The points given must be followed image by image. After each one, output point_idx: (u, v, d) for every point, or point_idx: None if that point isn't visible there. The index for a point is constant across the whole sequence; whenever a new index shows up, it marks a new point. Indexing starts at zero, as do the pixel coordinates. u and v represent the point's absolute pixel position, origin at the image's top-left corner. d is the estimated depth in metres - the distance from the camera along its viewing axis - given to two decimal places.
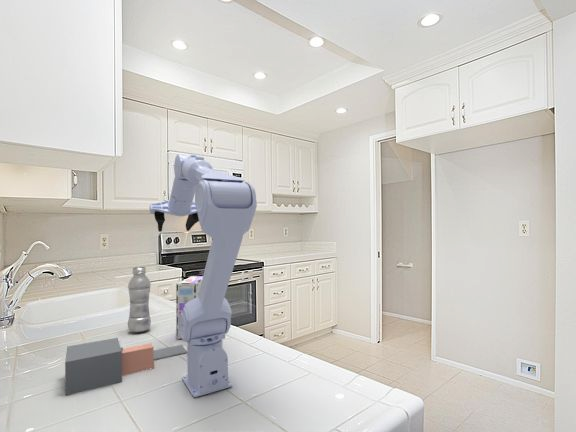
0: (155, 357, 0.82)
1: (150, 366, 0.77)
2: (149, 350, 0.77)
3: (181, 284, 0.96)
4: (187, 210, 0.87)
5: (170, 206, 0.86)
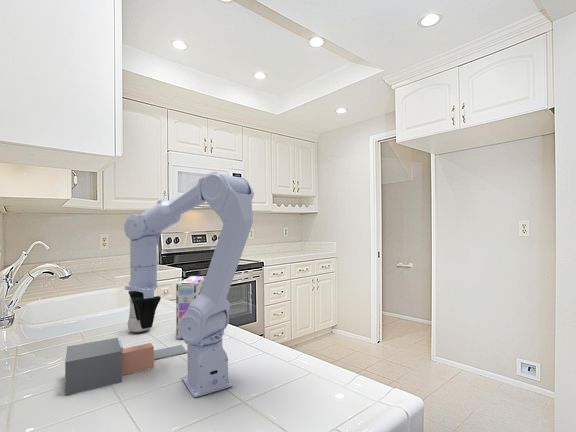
0: (155, 357, 0.82)
1: (150, 366, 0.77)
2: (150, 350, 0.77)
3: (181, 284, 0.96)
4: None
5: (150, 281, 0.76)
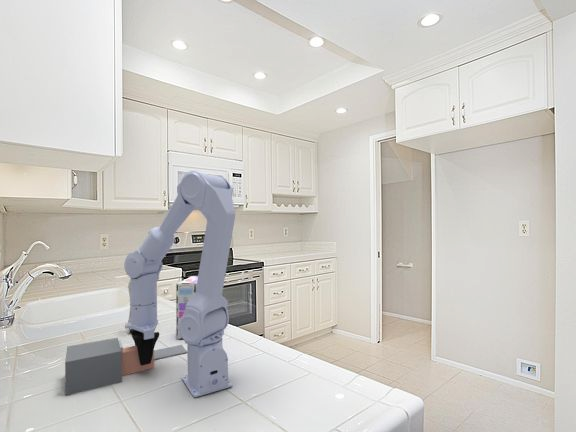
0: (155, 357, 0.82)
1: (150, 365, 0.77)
2: None
3: (181, 284, 0.96)
4: None
5: (150, 319, 0.76)
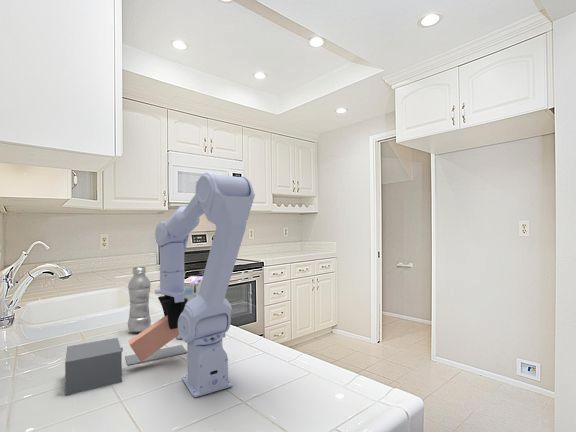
0: (155, 357, 0.82)
1: None
2: None
3: None
4: None
5: (179, 286, 0.79)
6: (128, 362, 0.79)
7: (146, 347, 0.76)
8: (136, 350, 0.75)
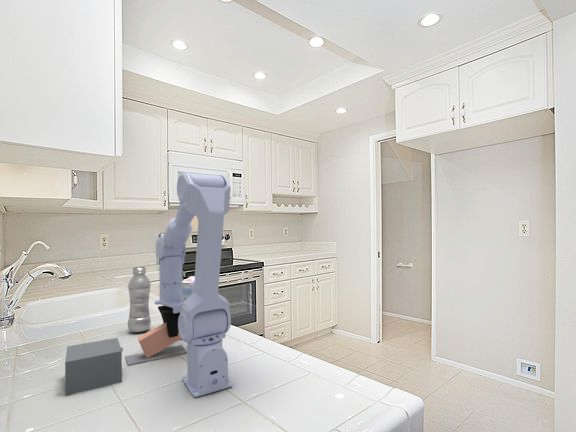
0: (155, 357, 0.82)
1: None
2: None
3: None
4: None
5: (177, 297, 0.85)
6: (128, 362, 0.79)
7: (154, 345, 0.82)
8: (144, 346, 0.81)
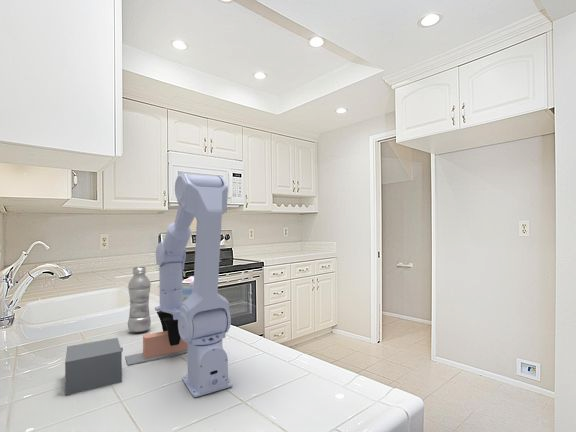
0: (155, 357, 0.82)
1: None
2: None
3: None
4: None
5: (177, 303, 0.85)
6: (128, 362, 0.79)
7: (155, 347, 0.83)
8: (147, 346, 0.82)
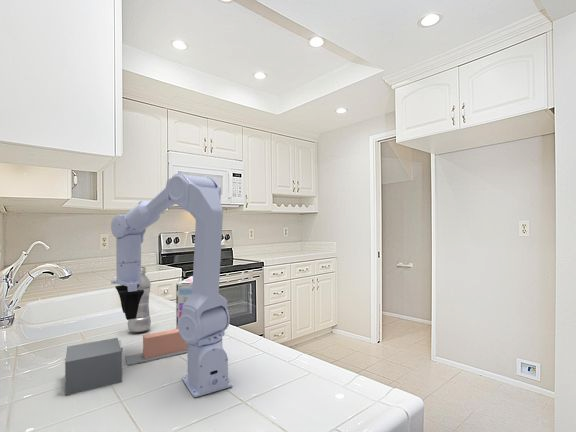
0: (155, 357, 0.82)
1: None
2: None
3: (181, 284, 0.96)
4: None
5: (134, 276, 0.82)
6: (128, 362, 0.79)
7: (155, 347, 0.83)
8: (147, 346, 0.82)
